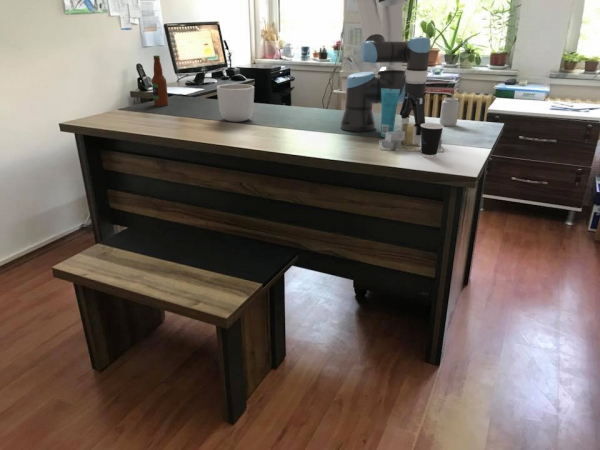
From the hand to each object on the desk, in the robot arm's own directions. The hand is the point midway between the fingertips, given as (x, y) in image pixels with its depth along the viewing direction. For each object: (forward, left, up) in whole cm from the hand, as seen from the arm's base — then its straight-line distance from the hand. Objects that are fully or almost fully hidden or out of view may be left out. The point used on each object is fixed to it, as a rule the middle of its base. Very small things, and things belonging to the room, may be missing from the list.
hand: (409, 139), depth 191 cm
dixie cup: (+6, -15, -2) cm, 16 cm away
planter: (-76, +35, -2) cm, 84 cm away
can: (+21, +40, -2) cm, 45 cm away
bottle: (-124, +66, -2) cm, 140 cm away
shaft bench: (0, -3, -2) cm, 4 cm away
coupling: (0, 0, -2) cm, 2 cm away
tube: (-8, +13, -2) cm, 15 cm away
